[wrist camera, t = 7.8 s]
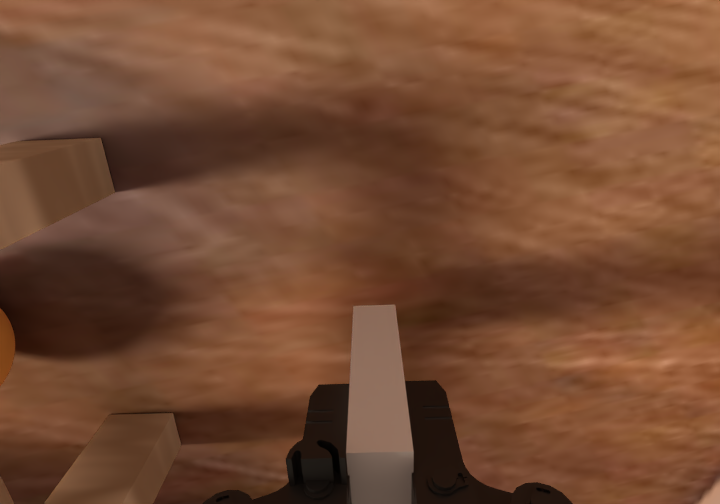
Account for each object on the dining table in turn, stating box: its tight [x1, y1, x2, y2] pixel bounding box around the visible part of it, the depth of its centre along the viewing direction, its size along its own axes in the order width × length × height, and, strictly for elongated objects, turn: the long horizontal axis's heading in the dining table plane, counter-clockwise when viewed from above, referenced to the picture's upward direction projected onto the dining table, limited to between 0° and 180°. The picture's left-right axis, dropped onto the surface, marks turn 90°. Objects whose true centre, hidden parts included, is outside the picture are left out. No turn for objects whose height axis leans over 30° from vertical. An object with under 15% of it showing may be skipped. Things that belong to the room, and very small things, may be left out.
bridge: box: [0, 138, 181, 504], centre depth 14 cm, size 3×14×9 cm, turn 2°
